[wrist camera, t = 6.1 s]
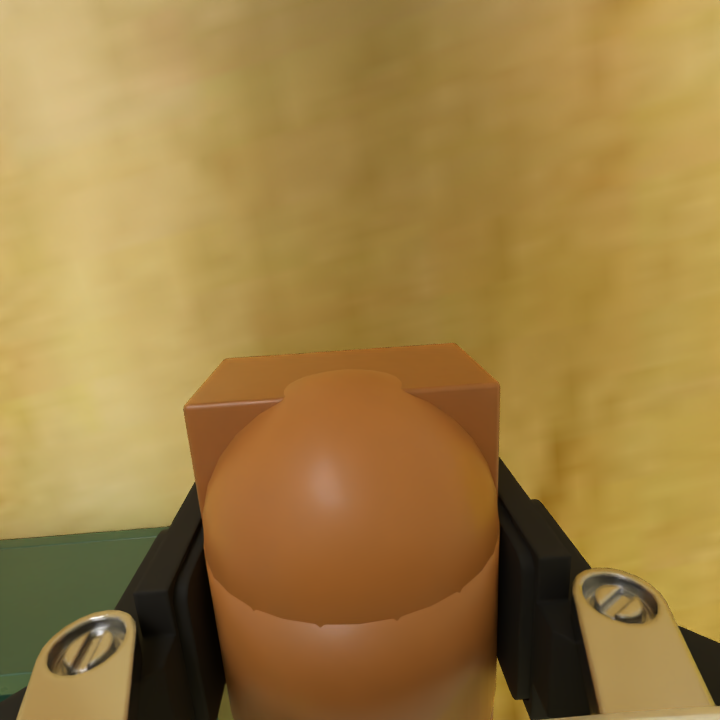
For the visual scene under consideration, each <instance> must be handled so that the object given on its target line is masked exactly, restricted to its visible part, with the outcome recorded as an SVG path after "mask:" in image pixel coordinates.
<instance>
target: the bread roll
mask: <svg viewBox="0 0 720 720" xmlns="http://www.w3.org/2000/svg"><path fill="white" fill-rule="evenodd" d="M183 410H184V416H185V422H186V428H187V434H188V440H189V446H190V452H191V458H192V464H193V470H194V476H195V482H196V488H197V494H198V500H199V506H200V512H201V518H202V524H203V532H204V553H205V560H206V566H207V572H208V578H209V584H210V590H211V596H212V602H213V608H214V614H215V620H216V626H217V631H218V637H219V643H220V649H221V655H222V661H223V667H224V673H225V679H226V685H227V691H228V696H229V702H230V708H231V713H232V716H233V719H234V720H493V701H494V695H495V689H496V665H497V622H498V579H499V536H500V521H499V515H498V465H499V419H500V385H499V383H498V382H497V381H496V380H495V379H494V378H493V377H492V376H491V375H490V374H489V373H488V372H486V371H485V370H484V369H483V368H482V367H481V366H480V365H479V364H478V363H477V362H476V361H474V360H473V359H472V358H471V357H470V356H469V355H468V354H467V353H466V352H465V351H464V350H462V349H461V348H460V347H459V346H458V345H457V344H455V343H445V344H430V345H416V346H401V347H386V348H372V349H357V350H343V351H328V352H314V353H299V354H285V355H270V356H256V357H241V358H227V359H225V360H223V361H222V362H221V364H220V365H219V366H218V367H217V368H216V369H215V371H214V372H213V373H212V374H211V375H210V376H209V378H208V379H207V380H206V381H205V382H204V383H203V384H202V386H201V387H200V388H199V389H198V390H197V391H196V393H195V394H194V395H193V396H192V397H191V398H190V399H189V401H188V402H187V403H186V404H185V405H184V409H183Z"/></svg>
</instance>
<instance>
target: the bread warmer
mask: <svg viewBox="0 0 720 720" xmlns="http://www.w3.org/2000/svg"><path fill="white" fill-rule="evenodd" d="M164 529H169V527H159V528H147V529H135V530H122V531H110V532H98V533H85V534H73V535H61V536H48V537H36V538H23V539H11V540H0V702H2V701H3V700H5V699H7V698H8V697H10V696H11V695H13V694H15V693H16V692H18V691H20V690H21V689H23V688H24V687H26V686H28V683H29V680H30V677H31V674H32V671H33V668H34V665H35V662H36V659H37V658H38V656H39V654H40V652H41V650H42V648H43V647H44V646H45V645H46V644H47V642H48V641H49V640H50V639H51V638H52V637H53V636H54V635H55V634H57V633H58V632H59V631H60V630H62V629H63V628H64V627H65V626H67V625H69V624H71V623H72V622H74V621H76V620H78V619H79V618H82V617H84V616H87V615H90V614H92V613H95V612H100V611H106V610H114V609H115V607H116V605H117V604H118V602H119V600H120V599H121V597H122V595H123V593H124V592H125V590H126V588H127V587H128V585H129V583H130V581H131V580H132V578H133V576H134V575H135V573H136V571H137V569H138V568H139V566H140V564H141V563H142V561H143V559H144V557H145V556H146V554H147V552H148V551H149V549H150V547H151V545H152V544H153V542H154V540H155V539H156V537H157V535H158V534H159V533H160V531H161V530H164ZM217 720H234V719H233V716H232V713H231V708H230V702H229V696H228V691H227V685H226V684H225V688H224V693H223V697H222V701H221V705H220V709H219V713H218V718H217Z"/></svg>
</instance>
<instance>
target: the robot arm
mask: <svg viewBox="0 0 720 720" xmlns="http://www.w3.org/2000/svg"><path fill="white" fill-rule="evenodd" d="M498 515H499V521H500V536H499V579H498V622H497V658H498V661H499V664H500V666H501V669H502V671H503V674H504V677H505V679H506V682H507V685H508V687H509V690H510V692H511V695H512V697H513V698H514V699H515V700H520V699H523V702H524V704H525V707H526V709H527V712H528V714H529V717H530V719H531V720H542V719H543V720H720V643H718V642H715V641H713V640H711V639H708V638H706V637H704V636H701V635H699V634H697V633H694V632H692V631H690V630H687V629H685V628H683V627H680V626H678V625H677V623H676V621H675V619H674V617H673V614H672V612H671V610H670V608H669V606H668V604H667V602H666V601H665V599H664V598H663V596H662V595H661V593H660V592H658V591H657V590H656V589H655V588H654V587H653V586H652V585H650V584H649V583H647V582H646V581H644V580H642V579H641V578H639V577H637V576H635V575H632V574H630V573H627V572H624V571H621V570H616V569H611V568H591V567H590V566H589V564H588V563H587V562H586V561H585V559H584V558H583V557H582V555H581V554H580V553H579V551H578V550H577V549H576V547H575V546H574V545H573V543H572V542H571V541H570V540H569V538H568V537H567V536H566V534H565V533H564V532H563V530H562V529H561V528H560V526H559V525H558V524H557V523H556V521H555V520H554V519H553V517H552V516H551V515H550V513H549V512H548V511H547V509H546V508H545V507H544V505H543V504H542V503H541V502H540V501H539V500H536V499H532V500H530V498H529V497H528V496H527V494H526V493H525V492H524V490H523V489H522V487H521V486H520V485H519V483H518V482H517V481H516V479H515V478H514V476H513V475H512V474H511V472H510V471H509V470H508V468H507V467H506V466H505V464H504V463H503V461H502V460H501V459H500V457H499V465H498ZM225 684H226V679H225V673H224V667H223V661H222V655H221V649H220V643H219V637H218V631H217V626H216V620H215V614H214V608H213V602H212V596H211V590H210V584H209V578H208V572H207V566H206V560H205V553H204V532H203V524H202V518H201V512H200V506H199V500H198V494H197V488H196V482H195V483H194V484H193V486H192V488H191V490H190V492H189V493H188V495H187V497H186V499H185V501H184V502H183V504H182V506H181V508H180V510H179V511H178V513H177V515H176V517H175V518H174V520H173V522H172V524H171V526H170V527H169V529H164V530H161V531H160V533H159V534H158V535H157V537H156V539H155V540H154V542H153V544H152V545H151V547H150V549H149V551H148V552H147V554H146V556H145V557H144V559H143V561H142V563H141V564H140V566H139V568H138V569H137V571H136V573H135V575H134V576H133V578H132V580H131V581H130V583H129V585H128V587H127V588H126V590H125V592H124V593H123V595H122V597H121V599H120V600H119V602H118V604H117V605H116V607H115V609H114V610H106V611H100V612H95V613H92V614H90V615H87V616H84V617H82V618H79V619H78V620H76V621H74V622H72V623H71V624H69V625H67V626H65V627H64V628H63V629H62V630H60V631H59V632H58V633H57V634H55V635H54V636H53V637H52V638H51V639H50V640H49V641H48V642H47V644H46V645H45V646H44V647H43V648H42V650H41V652H40V654H39V656H38V658H37V659H36V662H35V665H34V668H33V671H32V674H31V677H30V680H29V683H28V686H26V687H24V688H23V689H21V690H20V691H18V692H16V693H15V694H13V695H11V696H10V697H8V698H7V699H5V700H3V701H2V702H0V720H217V718H218V713H219V709H220V705H221V701H222V697H223V693H224V688H225Z"/></svg>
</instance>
